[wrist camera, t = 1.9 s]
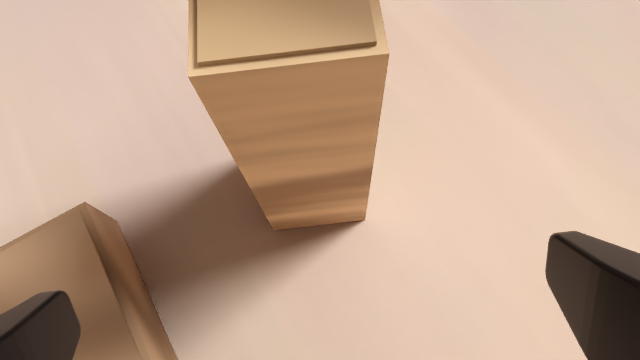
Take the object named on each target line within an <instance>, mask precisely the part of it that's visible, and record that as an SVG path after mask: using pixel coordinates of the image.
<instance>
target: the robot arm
mask: <svg viewBox="0 0 640 360" xmlns="http://www.w3.org/2000/svg"><path fill="white" fill-rule="evenodd" d="M546 279H547V282H548V285H549V287H550V289H551V291H552V293H553V295H554V296H555V298H556V300H557V302H558V304H559V306H560V308H561V310H562V312H563V314H564V316H565V318H566V320H567V322H568V324H569V326H570V328H571V329H572V331H573V333H574V335H575V337H576V339H577V341H578V343H579V345H580V347H581V349H582V350H583V352H584V354H585V356H586V357H587V359H588V360H640V253H637V252H634V251H631V250H628V249H625V248H623V247H620V246H617V245H614V244H611V243H608V242H606V241H603V240H600V239H597V238H594V237H591V236H588V235H586V234H583V233H580V232H577V231H568V232H559V233H554V234H553V235H551V236H550V239H549V242H548V252H547V261H546ZM80 335H81V326H80V322H79V320H78V317H77V315H76V313H75V310H74V308H73V305H72V303H71V300H70V298H69V296H68V294H67V293H66V292H65V291H63V290H54V291H45V292H40V293H38V294H36V295H34V296H32V297H30V298H29V299H27V300H25V301H23V302H22V303H20V304H18V305H16V306H15V307H13V308H11V309H9V310H8V311H6V312H4V313H2V314H1V315H0V360H73V358H74V355H75V352H76V349H77V346H78V343H79V340H80Z"/></svg>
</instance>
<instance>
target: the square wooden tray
mask: <svg viewBox="0 0 640 360" xmlns="http://www.w3.org/2000/svg"><path fill="white" fill-rule="evenodd" d="M54 290H63V291H65V292H66V293H67V294H68V296H69V298H70V300H71V303H72V305H73V308H74V310H75V313H76V315H77V317H78V320H79V322H80V326H81V335H80V340H79V343H78V346H77V349H76V352H75V355H74V358H73V360H178V359H177V357H176V354H175V352H174V350H173V348H172V345H171V343H170V341H169V338H168V336H167V334H166V332H165V329H164V327H163V325H162V323H161V320H160V318H159V316H158V313H157V311H156V309H155V307H154V304H153V302H152V300H151V298H150V295H149V293H148V291H147V289H146V286H145V284H144V282H143V279H142V277H141V275H140V273H139V270H138V268H137V266H136V264H135V261H134V259H133V257H132V255H131V252H130V250H129V248H128V245H127V243H126V241H125V239H124V236H123V234H122V232H121V230H120V227H119V225H118V223H117V221H116V220H114V219H113V218H111V217H109V216H108V215H106V214H104V213H103V212H101V211H99V210H98V209H96V208H94V207H93V206H91V205H89V204H88V203H86V202H84V203H82V204H80V205H78V206H76V207H74V208H72V209H71V210H69V211H67V212H65V213H63V214H61V215H59V216H58V217H56V218H54V219H52V220H50V221H48V222H46V223H45V224H43V225H41V226H39V227H37V228H35V229H33V230H32V231H30V232H28V233H26V234H24V235H22V236H20V237H19V238H17V239H15V240H13V241H11V242H9V243H7V244H6V245H4V246H2V247H0V315H1V314H2V313H4V312H6V311H8V310H9V309H11V308H13V307H15V306H16V305H18V304H20V303H22V302H23V301H25V300H27V299H29V298H30V297H32V296H34V295H36V294H38V293H40V292H45V291H54Z"/></svg>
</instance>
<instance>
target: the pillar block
mask: <svg viewBox="0 0 640 360" xmlns="http://www.w3.org/2000/svg"><path fill="white" fill-rule="evenodd" d="M388 59H389V49H388V44H387V39H386V34H385V29H384V23H383V18H382V13H381V8H380V3H379V0H189V45H188V77H189V79H190V81H191V83H192V85H193V86H194V88H195V90H196V92H197V94H198V95H199V97H200V99H201V101H202V103H203V104H204V106H205V108H206V110H207V112H208V113H209V115H210V117H211V119H212V121H213V122H214V124H215V126H216V128H217V130H218V131H219V133H220V135H221V137H222V139H223V140H224V142H225V144H226V146H227V148H228V149H229V151H230V153H231V155H232V157H233V158H234V160H235V162H236V164H237V166H238V167H239V169H240V171H241V173H242V175H243V176H244V178H245V180H246V182H247V184H248V185H249V187H250V189H251V191H252V193H253V194H254V196H255V198H256V200H257V202H258V203H259V205H260V207H261V209H262V211H263V212H264V214H265V216H266V218H267V220H268V221H269V223H270V225H271V227H272V229H273V230H281V229H290V228H299V227H308V226H316V225H325V224H334V223H343V222H351V221H360V220H365V216H366V209H367V202H368V196H369V189H370V182H371V175H372V168H373V161H374V155H375V148H376V141H377V134H378V127H379V120H380V114H381V107H382V100H383V93H384V86H385V80H386V73H387V66H388Z"/></svg>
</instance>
